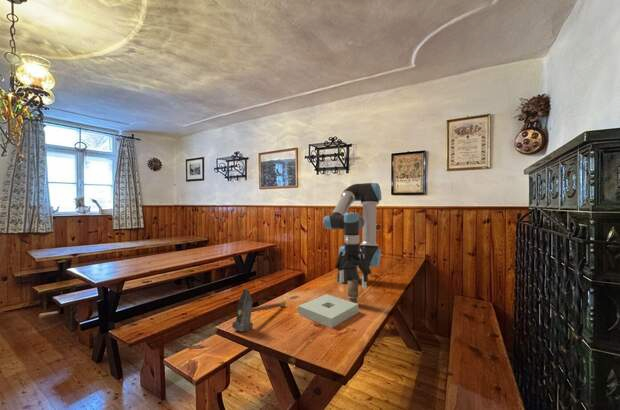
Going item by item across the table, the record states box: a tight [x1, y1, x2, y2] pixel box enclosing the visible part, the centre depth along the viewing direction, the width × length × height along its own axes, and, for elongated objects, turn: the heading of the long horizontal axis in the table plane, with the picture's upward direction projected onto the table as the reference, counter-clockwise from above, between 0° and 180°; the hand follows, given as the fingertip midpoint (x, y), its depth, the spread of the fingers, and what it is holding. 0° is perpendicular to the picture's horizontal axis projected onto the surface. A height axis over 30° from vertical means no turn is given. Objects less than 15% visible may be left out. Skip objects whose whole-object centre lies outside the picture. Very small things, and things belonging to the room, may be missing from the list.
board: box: [297, 293, 359, 329], centre depth 121 cm, size 20×20×4 cm
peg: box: [347, 280, 359, 304], centre depth 131 cm, size 5×5×12 cm
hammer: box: [231, 288, 286, 332], centre depth 119 cm, size 6×16×30 cm
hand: (352, 285), depth 130 cm, fingers open, 13 cm apart
